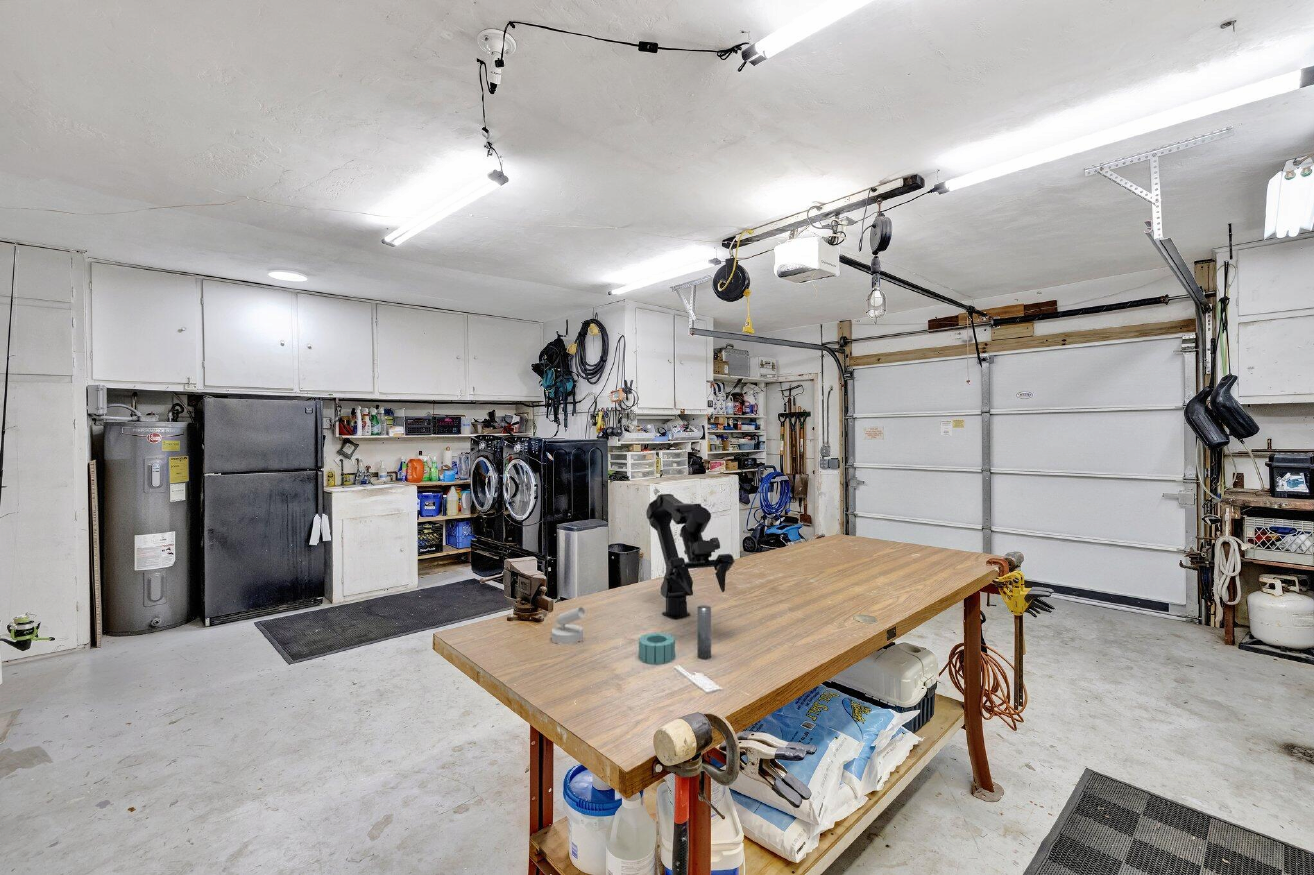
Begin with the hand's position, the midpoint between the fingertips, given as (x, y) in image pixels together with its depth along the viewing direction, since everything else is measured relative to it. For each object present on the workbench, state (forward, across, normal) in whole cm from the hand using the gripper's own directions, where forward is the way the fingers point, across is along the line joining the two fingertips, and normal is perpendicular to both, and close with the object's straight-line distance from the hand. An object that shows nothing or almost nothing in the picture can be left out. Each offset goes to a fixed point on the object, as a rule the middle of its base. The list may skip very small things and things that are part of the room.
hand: (708, 593), depth 149 cm
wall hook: (0, -35, +21) cm, 41 cm away
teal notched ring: (+13, -16, +6) cm, 21 cm away
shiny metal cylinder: (+15, -4, +4) cm, 16 cm away
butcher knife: (+23, -10, -4) cm, 25 cm away
